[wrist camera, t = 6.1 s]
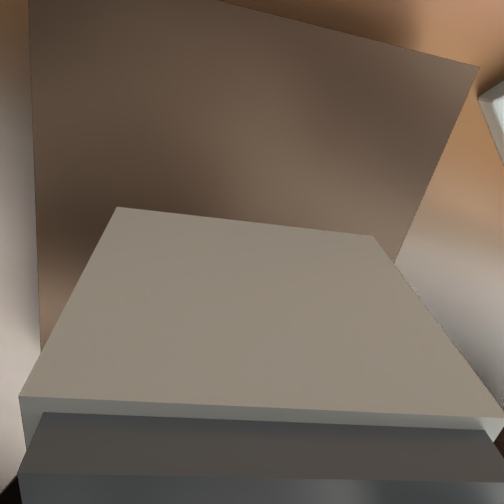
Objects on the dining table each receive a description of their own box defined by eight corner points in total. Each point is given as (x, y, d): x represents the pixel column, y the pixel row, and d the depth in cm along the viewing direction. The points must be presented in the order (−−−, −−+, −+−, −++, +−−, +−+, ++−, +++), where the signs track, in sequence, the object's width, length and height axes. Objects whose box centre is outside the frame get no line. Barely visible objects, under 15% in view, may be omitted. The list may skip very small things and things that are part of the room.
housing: (116, 206, 8) (-14, 456, 3) (373, 236, 8) (548, 471, 4) (114, 495, 12) (57, 772, 7) (284, 498, 13) (322, 751, 8)
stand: (305, 386, 22) (318, 436, 19) (65, 363, 20) (42, 416, 17) (431, 58, 14) (479, 67, 12) (66, -34, 12) (26, -49, 10)
